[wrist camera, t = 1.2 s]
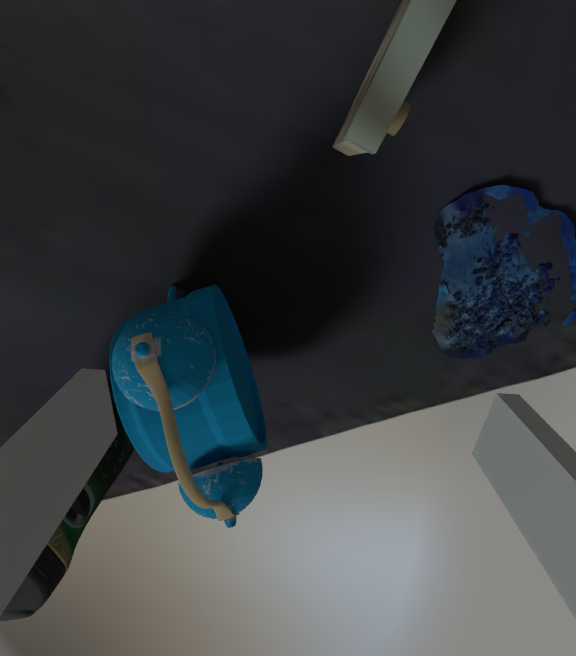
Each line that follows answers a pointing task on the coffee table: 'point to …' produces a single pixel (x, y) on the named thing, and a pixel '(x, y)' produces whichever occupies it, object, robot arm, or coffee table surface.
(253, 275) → the coffee table surface
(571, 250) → the rock
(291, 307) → the coffee table surface
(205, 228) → the coffee table surface
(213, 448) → the alarm clock
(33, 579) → the coffee jar
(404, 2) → the gate
